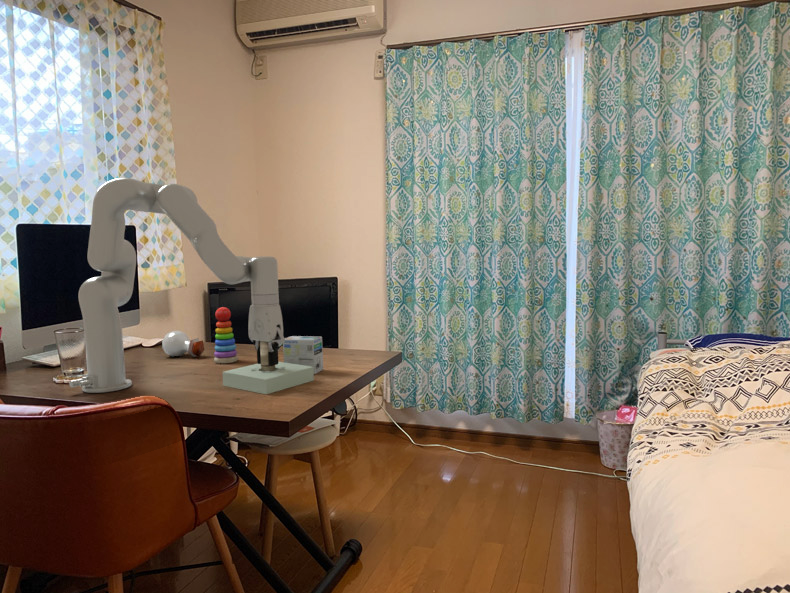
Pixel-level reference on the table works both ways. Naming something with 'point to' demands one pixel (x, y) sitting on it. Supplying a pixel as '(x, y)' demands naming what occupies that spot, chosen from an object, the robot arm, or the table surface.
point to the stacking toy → (224, 338)
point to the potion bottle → (181, 344)
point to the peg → (265, 357)
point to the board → (268, 377)
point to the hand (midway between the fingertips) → (267, 363)
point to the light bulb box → (304, 351)
